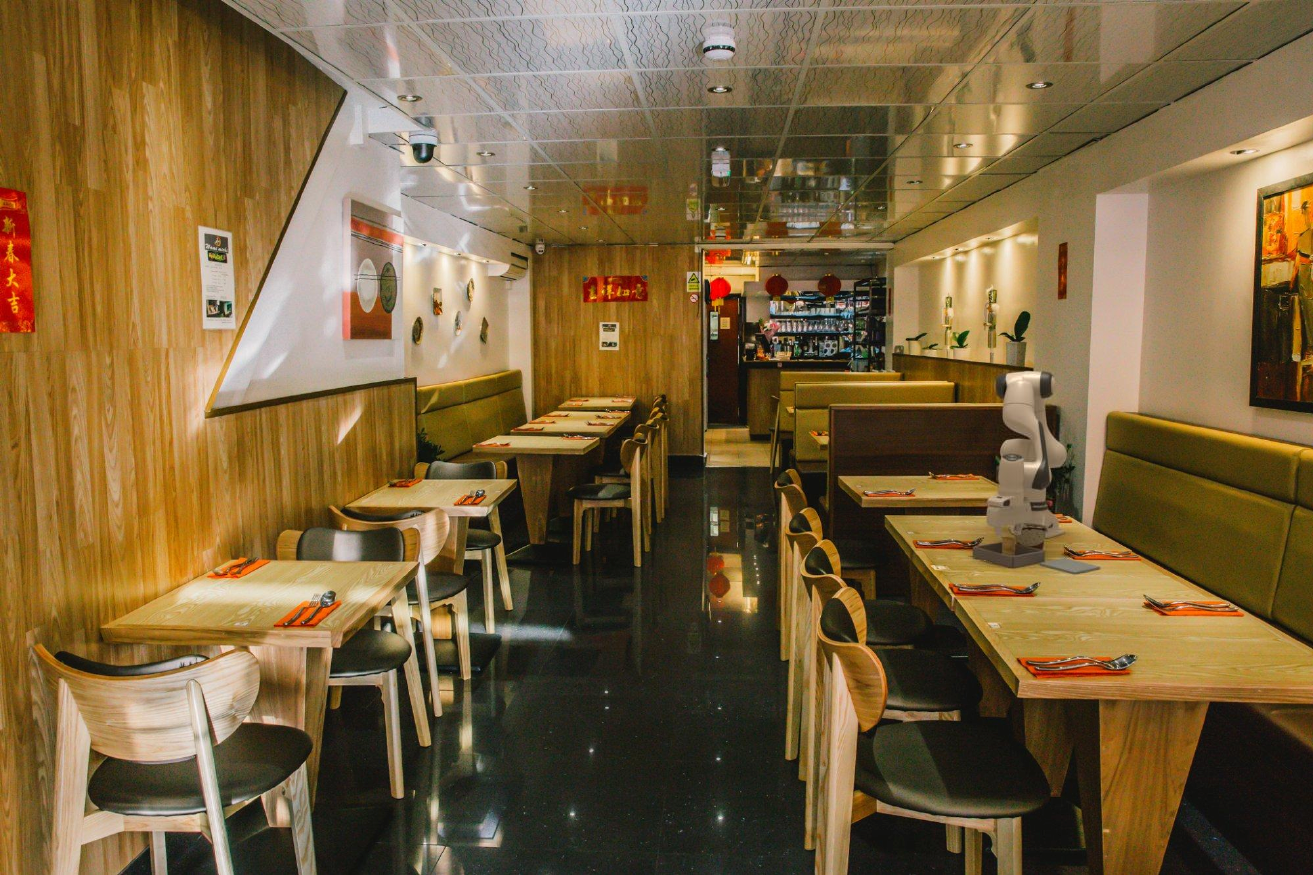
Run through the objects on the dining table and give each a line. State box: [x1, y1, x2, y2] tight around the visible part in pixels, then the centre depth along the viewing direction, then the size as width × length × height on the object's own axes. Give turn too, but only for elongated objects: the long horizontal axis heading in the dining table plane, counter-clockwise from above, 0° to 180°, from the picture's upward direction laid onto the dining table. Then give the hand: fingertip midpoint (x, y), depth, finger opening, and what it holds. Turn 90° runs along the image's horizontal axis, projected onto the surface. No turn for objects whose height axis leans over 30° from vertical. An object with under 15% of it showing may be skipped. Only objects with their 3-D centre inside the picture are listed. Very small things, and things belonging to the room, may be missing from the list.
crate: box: [972, 541, 1046, 569], centre depth 324 cm, size 18×18×4 cm
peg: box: [1001, 536, 1016, 556], centre depth 323 cm, size 4×4×8 cm
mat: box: [1039, 557, 1101, 575], centre depth 313 cm, size 14×14×1 cm
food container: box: [1013, 523, 1048, 550], centre depth 337 cm, size 12×6×10 cm, turn 84°
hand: (1008, 536), depth 323 cm, fingers open, 8 cm apart
